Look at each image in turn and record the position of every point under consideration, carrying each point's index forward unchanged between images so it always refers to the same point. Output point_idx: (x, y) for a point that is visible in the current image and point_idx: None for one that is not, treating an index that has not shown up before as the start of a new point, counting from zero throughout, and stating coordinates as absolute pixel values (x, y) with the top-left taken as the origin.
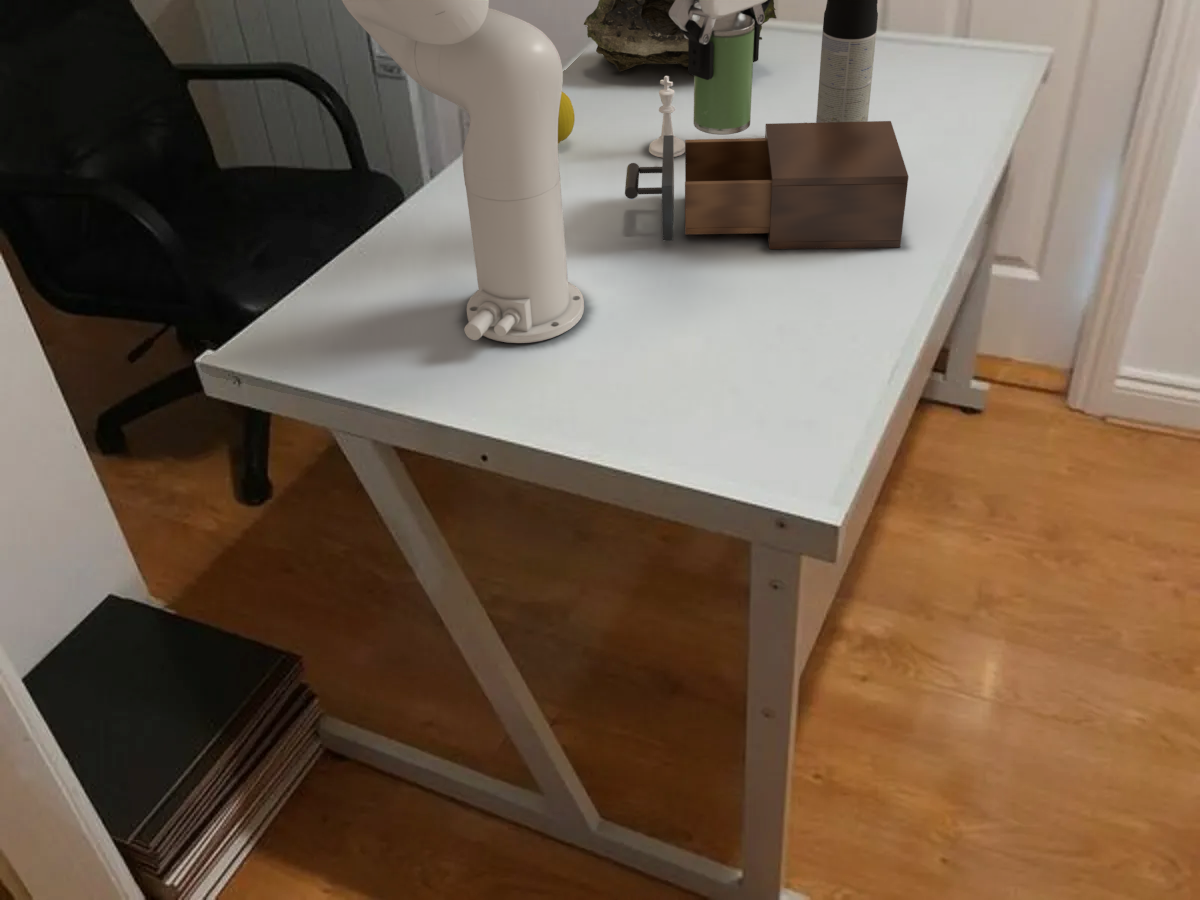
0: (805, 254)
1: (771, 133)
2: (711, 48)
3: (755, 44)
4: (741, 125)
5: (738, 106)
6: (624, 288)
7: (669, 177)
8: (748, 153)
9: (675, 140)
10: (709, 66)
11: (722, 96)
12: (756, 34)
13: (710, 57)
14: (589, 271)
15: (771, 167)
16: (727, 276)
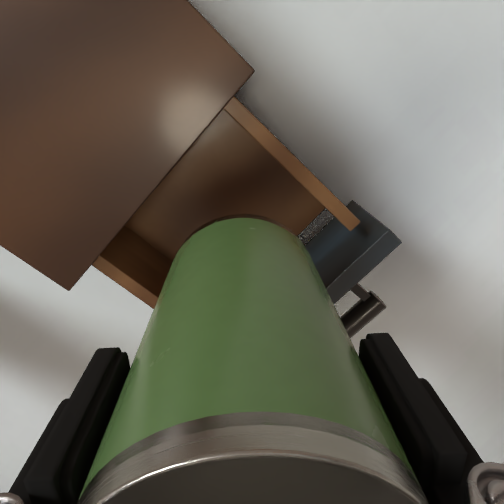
0: (212, 16)
1: (91, 248)
2: (437, 429)
3: (91, 400)
4: (245, 218)
5: (261, 239)
6: (482, 156)
7: (365, 259)
8: (135, 266)
9: None
10: (408, 364)
11: (315, 279)
12: (72, 438)
13: (421, 393)
14: (471, 228)
15: (213, 117)
16: (360, 64)
